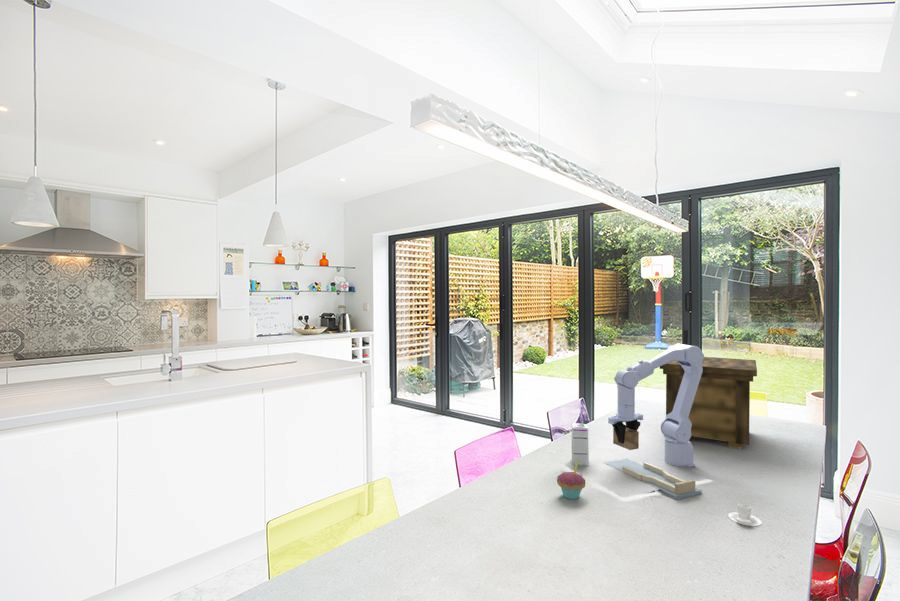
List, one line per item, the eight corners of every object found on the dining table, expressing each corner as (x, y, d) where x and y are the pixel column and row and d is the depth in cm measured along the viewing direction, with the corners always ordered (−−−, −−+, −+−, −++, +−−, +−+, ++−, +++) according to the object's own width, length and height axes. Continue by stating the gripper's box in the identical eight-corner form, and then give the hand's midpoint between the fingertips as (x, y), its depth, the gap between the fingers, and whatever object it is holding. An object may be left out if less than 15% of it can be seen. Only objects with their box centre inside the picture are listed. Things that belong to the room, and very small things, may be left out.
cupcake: (586, 492, 146) (586, 454, 146) (584, 504, 138) (584, 463, 138) (558, 488, 149) (558, 451, 149) (555, 499, 141) (555, 460, 141)
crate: (659, 438, 201) (659, 363, 201) (670, 420, 231) (670, 354, 230) (756, 453, 182) (757, 370, 182) (754, 431, 212) (755, 360, 212)
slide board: (626, 461, 174) (626, 450, 174) (701, 493, 146) (701, 480, 146) (603, 465, 170) (603, 454, 170) (676, 499, 141) (676, 486, 141)
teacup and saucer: (749, 531, 123) (749, 515, 123) (719, 518, 130) (720, 503, 130) (768, 523, 127) (768, 508, 127) (738, 511, 135) (738, 497, 134)
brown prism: (621, 442, 172) (621, 425, 172) (638, 448, 164) (638, 431, 164) (613, 443, 170) (613, 427, 170) (629, 450, 163) (630, 432, 163)
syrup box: (589, 468, 167) (589, 427, 167) (571, 467, 168) (572, 427, 168) (587, 462, 172) (587, 423, 172) (571, 461, 174) (571, 422, 173)
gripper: (632, 399, 174) (632, 436, 174) (602, 403, 168) (602, 441, 168) (647, 403, 167) (647, 441, 167) (616, 407, 161) (616, 447, 161)
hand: (625, 441), depth 167 cm, fingers closed on brown prism, 4 cm apart
